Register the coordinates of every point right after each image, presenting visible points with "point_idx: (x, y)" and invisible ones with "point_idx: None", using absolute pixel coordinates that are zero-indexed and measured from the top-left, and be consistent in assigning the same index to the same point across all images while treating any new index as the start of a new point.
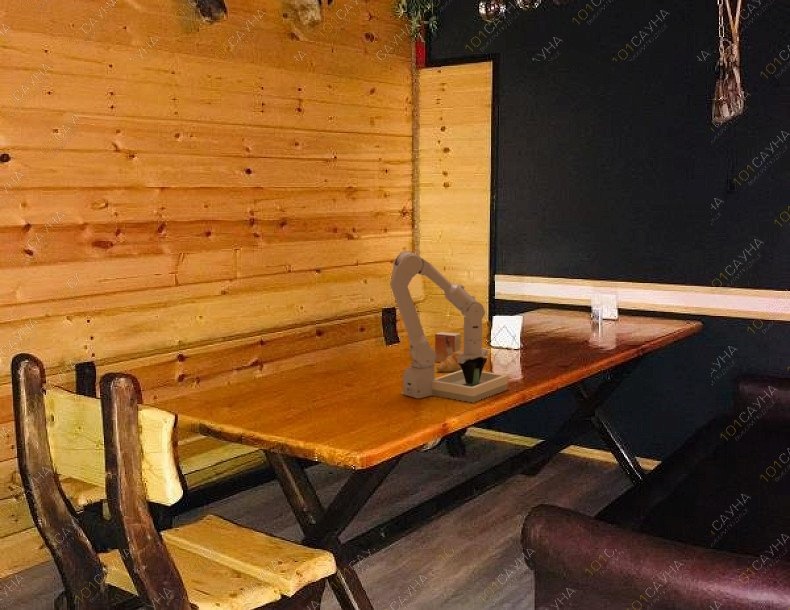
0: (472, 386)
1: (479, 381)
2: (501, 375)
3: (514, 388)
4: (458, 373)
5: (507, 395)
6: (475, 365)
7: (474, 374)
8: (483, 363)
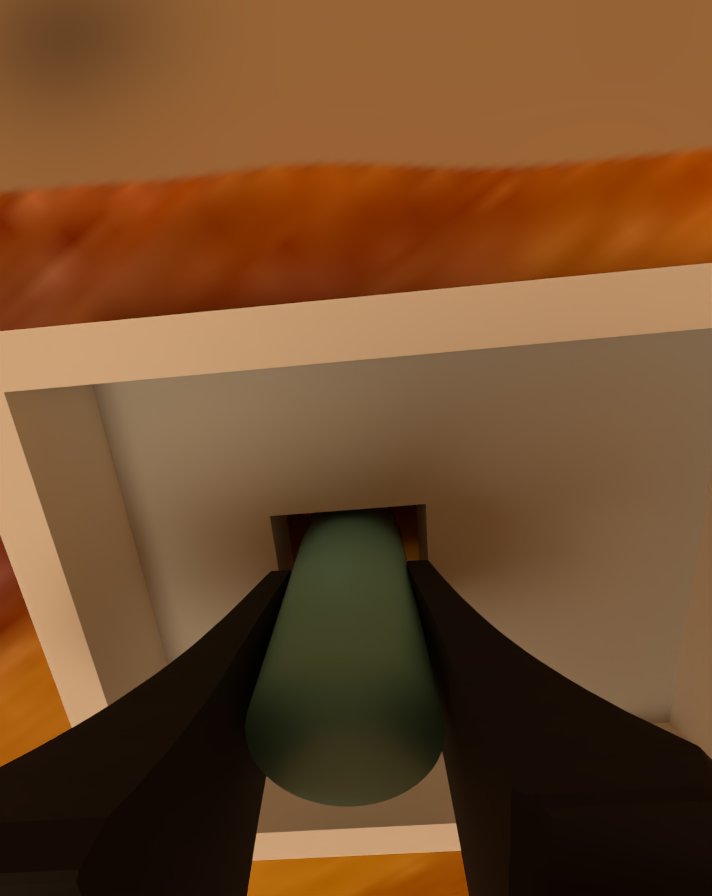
0: (399, 544)
1: (213, 599)
2: (10, 412)
3: (10, 325)
4: (297, 816)
5: (262, 206)
6: (517, 741)
7: (403, 618)
8: (124, 749)
